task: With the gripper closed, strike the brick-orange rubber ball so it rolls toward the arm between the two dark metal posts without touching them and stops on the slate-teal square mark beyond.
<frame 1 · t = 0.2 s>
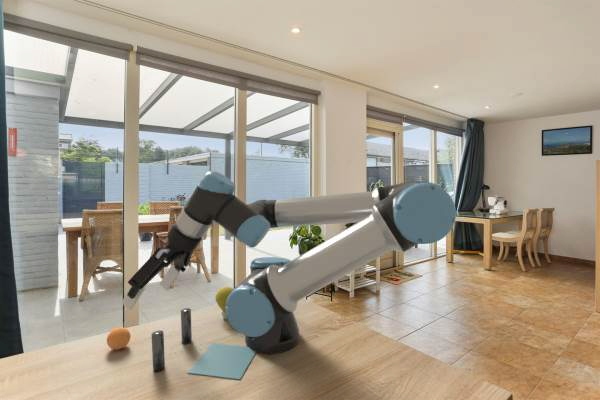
hand: (146, 295, 81), 16 cm above the table, tool tilted 35°, fingers open, 13 cm apart
left post: (159, 369, 76), on the table
light bulb: (226, 318, 103), on the table
ball: (118, 338, 85), on the table
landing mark: (225, 360, 80), on the table
right post: (186, 341, 89), on the table
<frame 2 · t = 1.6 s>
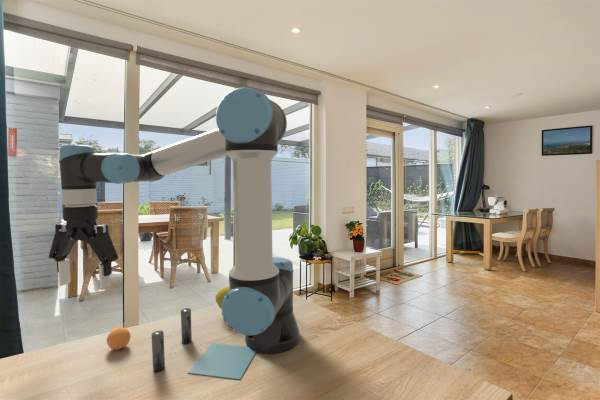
hand: (85, 285, 85), 17 cm above the table, tool pointing down, fingers open, 12 cm apart
nothing on the table moved.
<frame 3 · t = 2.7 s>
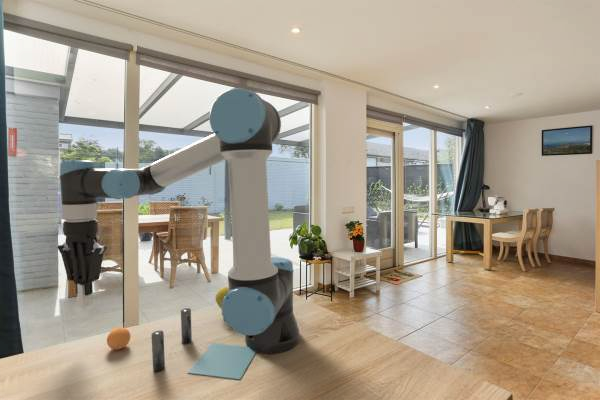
hand: (85, 306, 86), 11 cm above the table, tool pointing down, fingers closed
nothing on the table moved.
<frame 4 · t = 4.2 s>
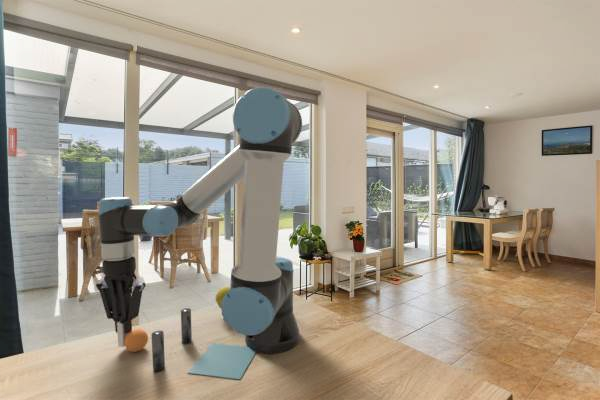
hand: (124, 343, 85), 1 cm above the table, tool pointing down, fingers closed
ball: (136, 340, 84), on the table
everything else where it was.
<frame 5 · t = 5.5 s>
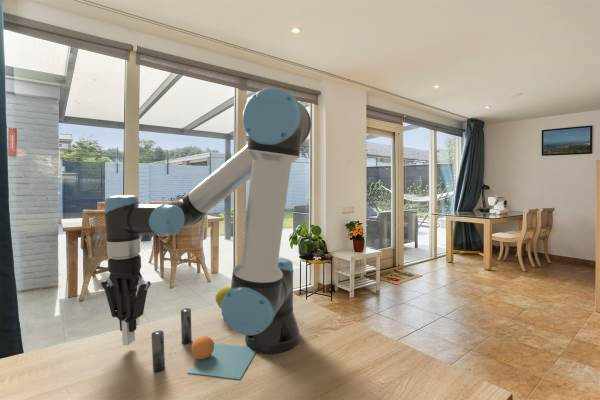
hand: (129, 342, 85), 2 cm above the table, tool pointing down, fingers closed
ball: (202, 347, 81), on the table
everything else where it was.
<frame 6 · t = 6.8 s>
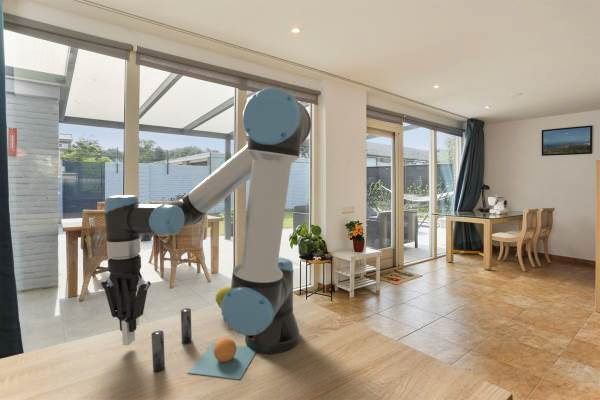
hand: (129, 342, 85), 2 cm above the table, tool pointing down, fingers closed
ball: (225, 349, 80), on the table
everything else where it was.
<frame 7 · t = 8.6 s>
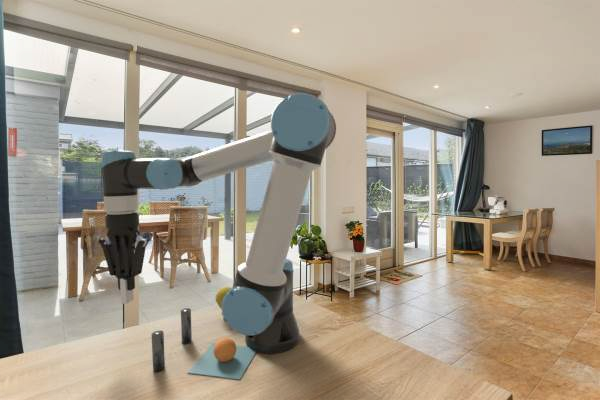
hand: (127, 301, 83), 13 cm above the table, tool pointing down, fingers closed
nothing on the table moved.
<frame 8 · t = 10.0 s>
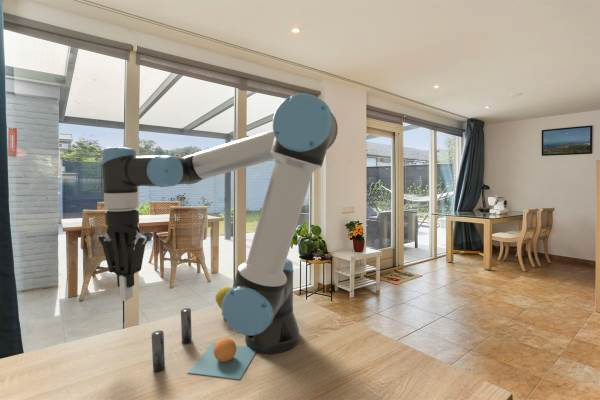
hand: (126, 298, 83), 14 cm above the table, tool pointing down, fingers closed
nothing on the table moved.
at the end: ball 0.1 cm from the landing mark (horizontally); ball never touched left post; ball never touched right post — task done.
